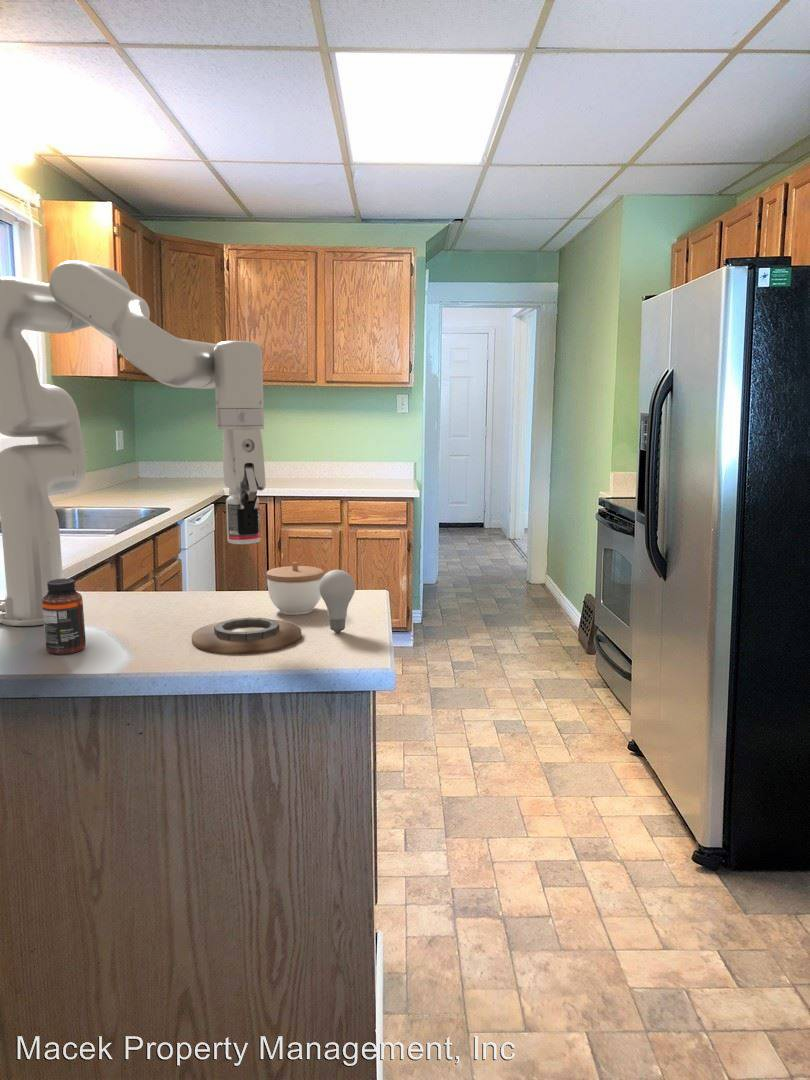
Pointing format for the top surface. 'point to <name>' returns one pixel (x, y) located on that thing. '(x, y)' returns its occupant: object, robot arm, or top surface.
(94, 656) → the top surface
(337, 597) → the lightbulb
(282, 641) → the brown disc with ring
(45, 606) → the supplement bottle
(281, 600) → the lidded jar
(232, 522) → the pill bottle
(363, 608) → the top surface
